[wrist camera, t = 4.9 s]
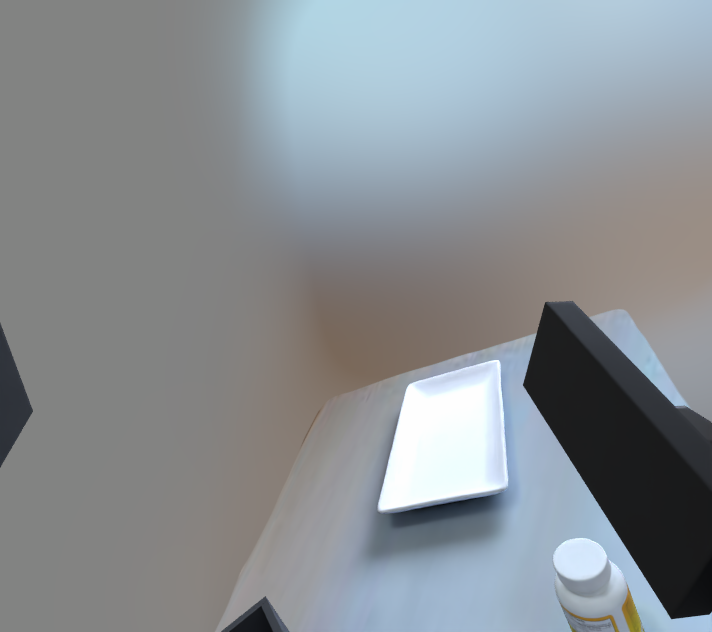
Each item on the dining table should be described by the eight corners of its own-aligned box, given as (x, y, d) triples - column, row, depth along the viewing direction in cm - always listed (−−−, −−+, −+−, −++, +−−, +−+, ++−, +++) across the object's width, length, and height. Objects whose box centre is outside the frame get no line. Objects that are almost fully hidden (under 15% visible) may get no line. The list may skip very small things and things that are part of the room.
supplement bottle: (612, 691, 40) (574, 602, 37) (565, 638, 45) (529, 557, 42) (665, 649, 41) (632, 560, 38) (613, 601, 46) (581, 520, 43)
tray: (506, 373, 88) (499, 355, 87) (517, 509, 60) (507, 486, 59) (414, 398, 94) (406, 383, 93) (385, 533, 66) (374, 513, 65)
